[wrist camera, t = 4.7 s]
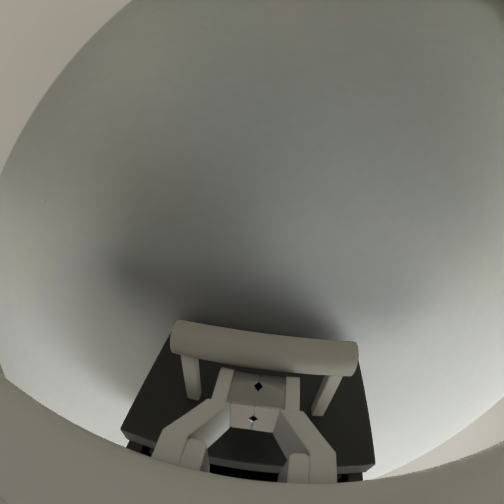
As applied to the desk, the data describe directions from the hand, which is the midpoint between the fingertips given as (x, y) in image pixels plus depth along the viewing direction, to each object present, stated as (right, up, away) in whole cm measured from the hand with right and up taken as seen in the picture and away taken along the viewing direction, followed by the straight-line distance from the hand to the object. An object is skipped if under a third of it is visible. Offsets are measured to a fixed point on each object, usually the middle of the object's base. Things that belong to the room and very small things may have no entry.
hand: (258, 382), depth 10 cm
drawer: (0, -4, +8) cm, 9 cm away
